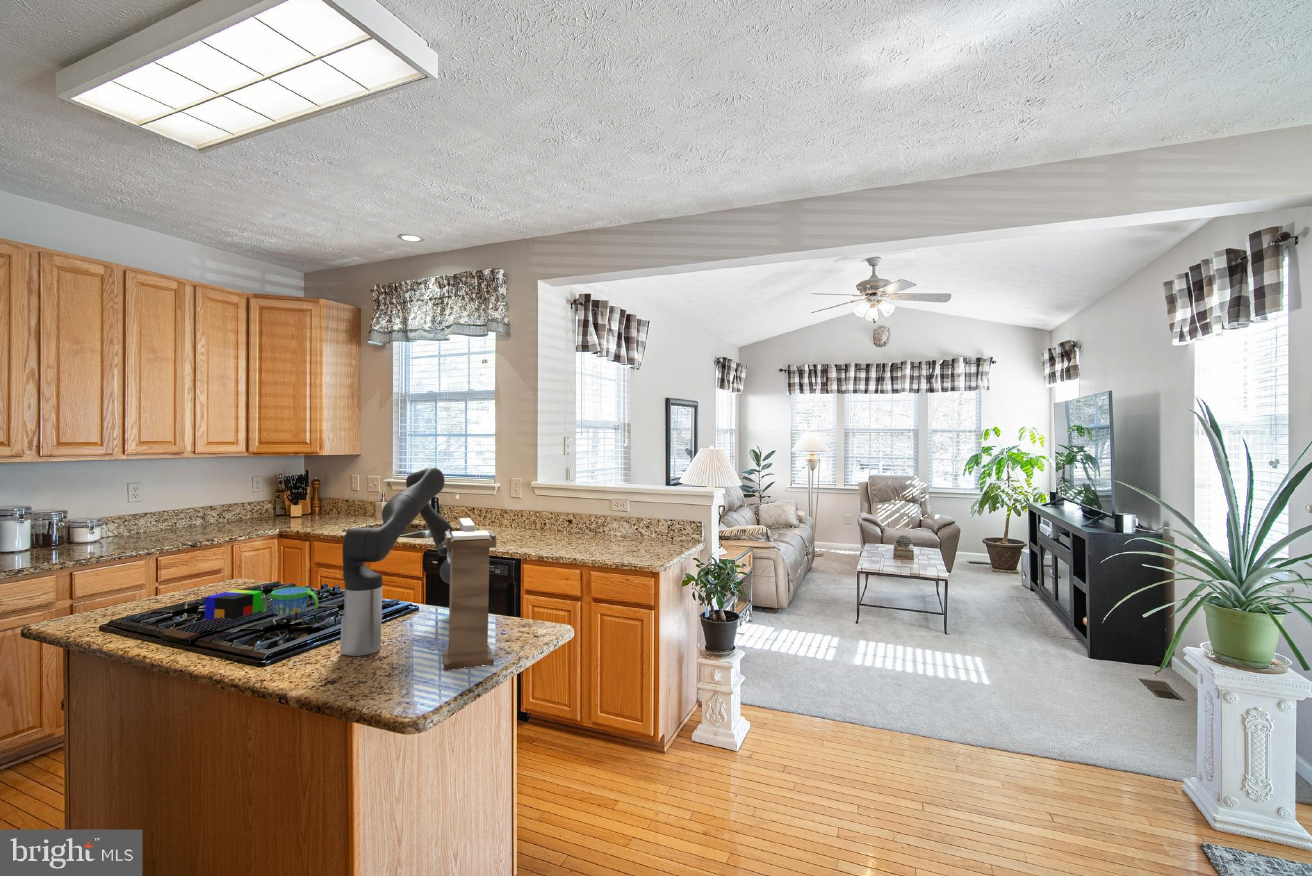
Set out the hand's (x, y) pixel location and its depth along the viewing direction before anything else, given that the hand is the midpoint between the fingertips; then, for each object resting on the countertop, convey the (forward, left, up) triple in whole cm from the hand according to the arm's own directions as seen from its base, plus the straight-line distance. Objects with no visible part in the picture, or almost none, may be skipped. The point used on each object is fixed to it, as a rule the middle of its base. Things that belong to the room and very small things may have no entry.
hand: (463, 532), depth 177 cm
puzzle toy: (-69, +17, -31) cm, 78 cm away
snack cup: (-54, +19, -31) cm, 65 cm away
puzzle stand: (+5, -22, -30) cm, 38 cm away
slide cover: (+3, -16, +2) cm, 16 cm away
